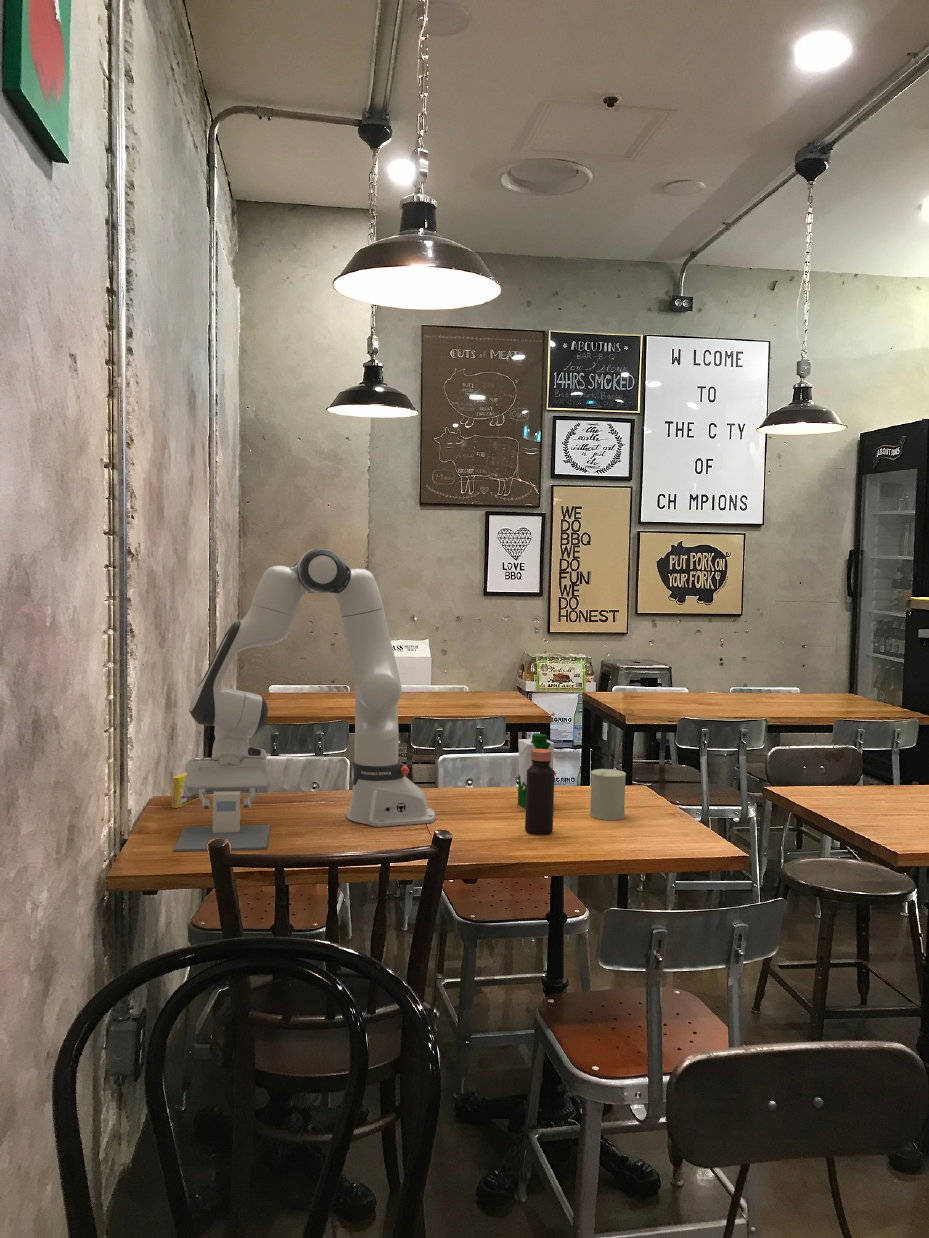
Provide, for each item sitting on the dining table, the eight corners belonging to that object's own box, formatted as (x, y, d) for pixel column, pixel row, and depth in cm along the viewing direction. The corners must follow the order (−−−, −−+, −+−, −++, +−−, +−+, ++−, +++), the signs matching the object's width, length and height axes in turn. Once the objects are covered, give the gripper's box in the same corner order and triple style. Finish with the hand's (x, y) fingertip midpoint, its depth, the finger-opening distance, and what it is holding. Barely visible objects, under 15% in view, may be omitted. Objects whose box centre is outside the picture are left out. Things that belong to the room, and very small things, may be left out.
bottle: (524, 827, 223) (526, 747, 222) (551, 828, 223) (554, 748, 222) (525, 834, 217) (527, 752, 216) (553, 835, 216) (556, 753, 215)
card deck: (239, 828, 214) (240, 791, 213) (238, 832, 211) (239, 794, 210) (213, 829, 213) (214, 791, 212) (212, 832, 210) (213, 794, 209)
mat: (269, 827, 217) (269, 825, 217) (266, 849, 200) (266, 847, 200) (184, 828, 214) (184, 826, 214) (173, 851, 196) (173, 849, 196)
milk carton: (525, 811, 239) (527, 736, 238) (513, 803, 247) (515, 731, 246) (555, 809, 241) (558, 735, 241) (542, 801, 250) (544, 730, 249)
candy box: (178, 809, 232) (178, 777, 232) (170, 808, 232) (171, 777, 232) (208, 795, 248) (208, 765, 248) (201, 794, 248) (201, 764, 248)
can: (582, 815, 236) (584, 770, 236) (602, 809, 243) (603, 765, 242) (612, 822, 230) (613, 776, 229) (631, 816, 237) (633, 771, 236)
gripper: (185, 751, 216) (179, 801, 207) (271, 750, 220) (269, 799, 210) (187, 765, 221) (181, 815, 212) (272, 764, 224) (270, 813, 215)
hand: (226, 807), depth 211 cm, fingers open, 8 cm apart
